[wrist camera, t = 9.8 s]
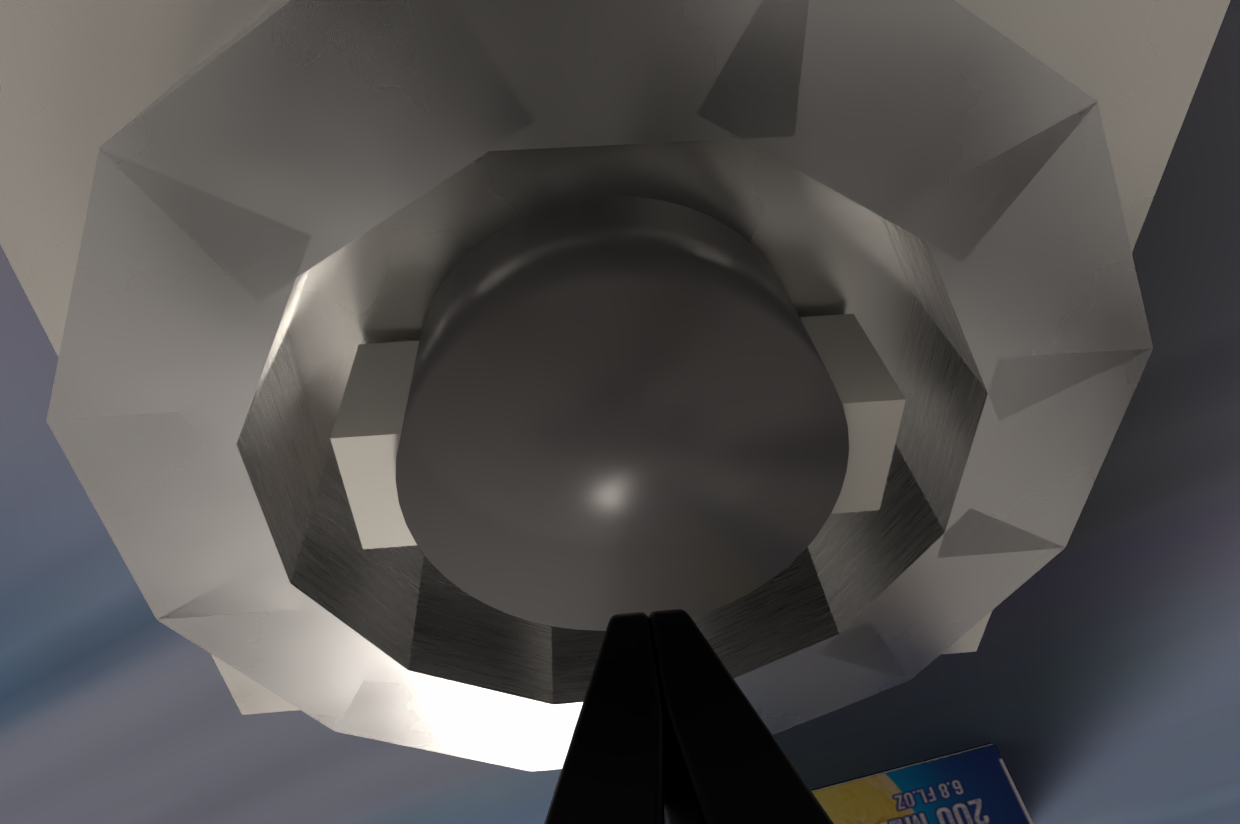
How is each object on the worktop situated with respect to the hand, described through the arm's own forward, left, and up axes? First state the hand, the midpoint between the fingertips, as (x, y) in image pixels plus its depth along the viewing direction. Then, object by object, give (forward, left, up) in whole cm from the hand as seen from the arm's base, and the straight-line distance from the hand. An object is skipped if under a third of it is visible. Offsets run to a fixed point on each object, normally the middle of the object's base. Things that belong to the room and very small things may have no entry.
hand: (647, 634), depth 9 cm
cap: (0, 0, -5) cm, 5 cm away
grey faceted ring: (0, 0, -6) cm, 6 cm away
